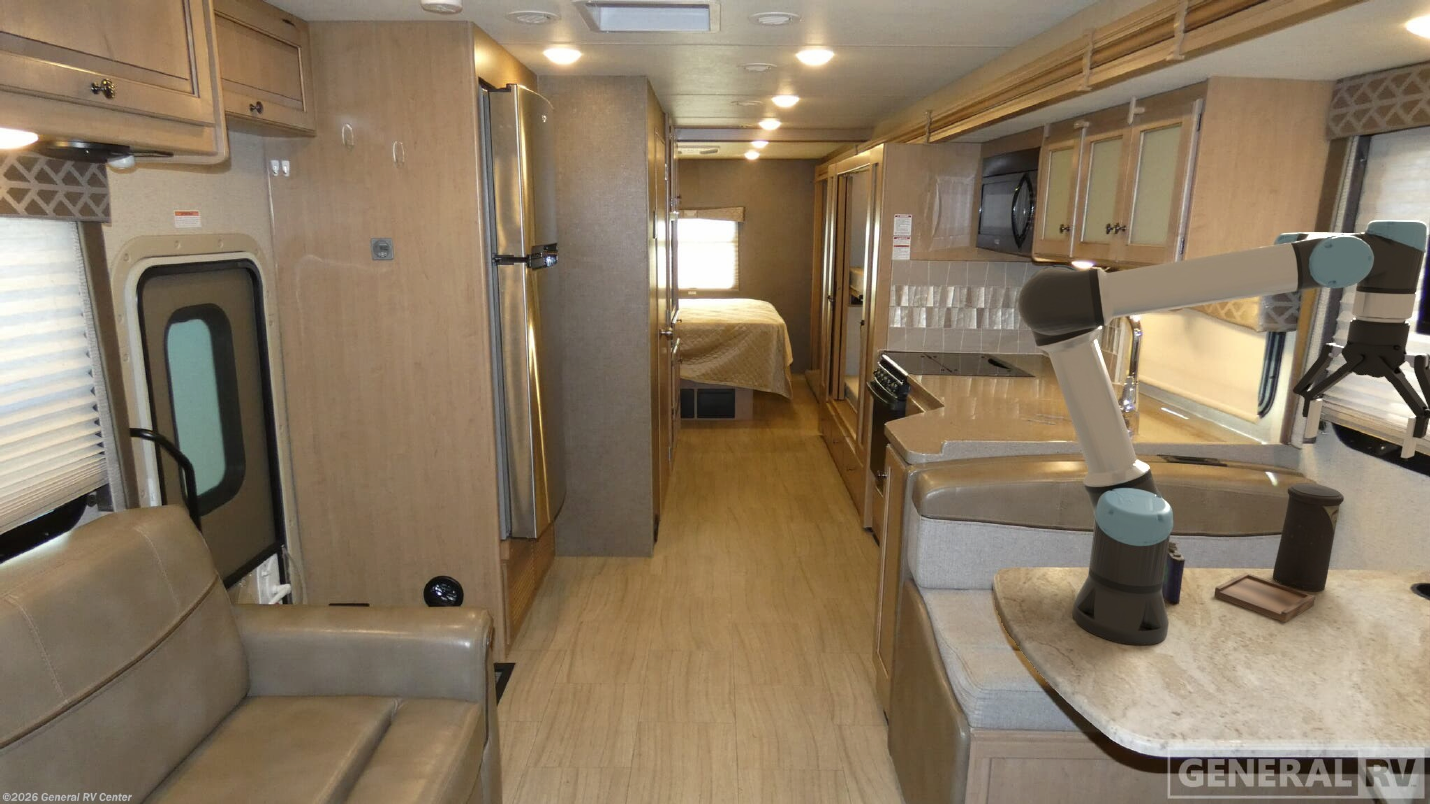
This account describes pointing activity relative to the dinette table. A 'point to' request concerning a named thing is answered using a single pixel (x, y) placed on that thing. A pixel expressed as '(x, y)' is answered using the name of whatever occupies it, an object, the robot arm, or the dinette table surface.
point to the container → (1307, 536)
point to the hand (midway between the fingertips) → (1356, 446)
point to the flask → (1173, 574)
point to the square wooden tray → (1265, 596)
